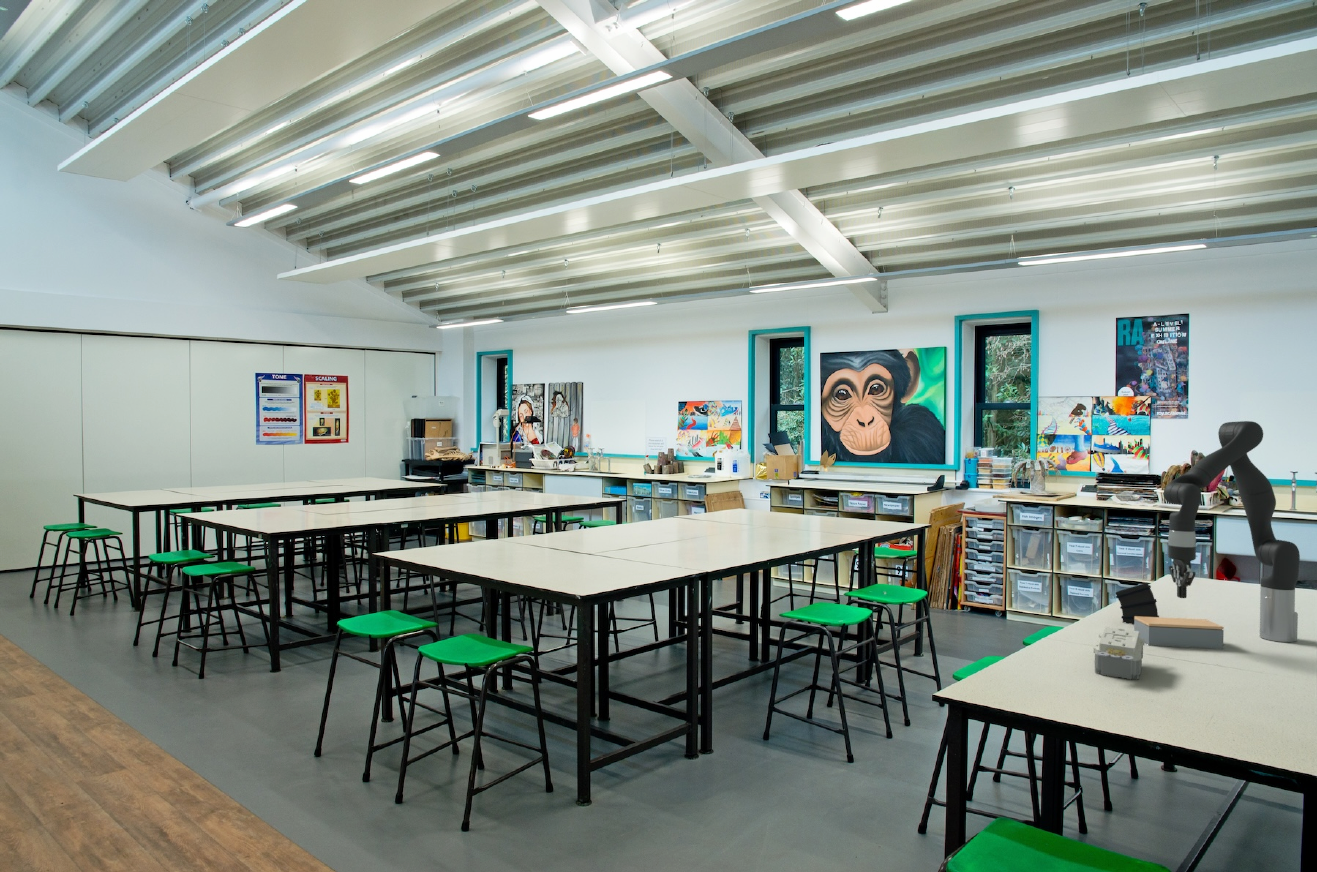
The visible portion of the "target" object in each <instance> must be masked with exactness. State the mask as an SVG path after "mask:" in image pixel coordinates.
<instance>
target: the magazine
mask: <svg viewBox="0 0 1317 872" xmlns="http://www.w3.org/2000/svg"><path fill="white" fill-rule="evenodd" d="M1151 587H1152V585H1150V584H1149V583H1148V582H1144V583H1142V584H1138V585H1135V586H1131V587H1128V588H1125V589H1122V590H1117V591H1115V595H1116V596H1115V599H1118V601H1119V603H1120V606H1119V608H1120V610H1121V611H1122V613H1121V614H1122V615H1121V619H1122V623H1123V622H1126V623H1125V624H1129V623H1132V624H1131V625H1134V616H1140V617H1160V615H1158V613H1159V612H1158V607H1157V602H1158V601H1157V598H1155V596H1154V594H1153V593H1154V592H1153V591H1152V589H1151Z"/></svg>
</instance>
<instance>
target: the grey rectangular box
mask: <svg viewBox="0 0 1317 872" xmlns="http://www.w3.org/2000/svg"><path fill="white" fill-rule="evenodd" d="M1133 626H1134V629H1133V630H1134V631H1139V632H1140V634H1139V638H1141V639H1143V640H1144V641H1145V643H1144V644H1146V645H1147V644H1148V646H1153V645H1154V647H1155V646H1156V647H1160V646H1161V647H1175V648H1176V647H1177V648H1178V647H1179V648H1194V649H1195V648H1198V649H1199V648H1200V649H1215V650H1216V649H1217V650H1219V649H1221V650H1224V636H1225V635H1224V631H1225V630H1224V629H1204V628H1182V627H1159V626H1148V625H1146V624H1144V623H1142V622H1140V621H1138V620H1136V619H1134V624H1133Z"/></svg>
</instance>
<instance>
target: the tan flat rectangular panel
mask: <svg viewBox="0 0 1317 872" xmlns="http://www.w3.org/2000/svg"><path fill="white" fill-rule="evenodd" d="M1134 619H1136V620H1138V621H1140V622H1142V623H1144V624H1146V625H1148V626H1159V627H1182V628H1204V629H1222V630H1224V629H1225V626H1223V625H1220V624H1218V623H1215V622H1213V621H1211V620H1208V619H1203V618H1187V617H1185V618H1181V617H1161V616H1159V617H1140V616H1134Z"/></svg>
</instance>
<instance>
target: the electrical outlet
mask: <svg viewBox="0 0 1317 872" xmlns="http://www.w3.org/2000/svg"><path fill="white" fill-rule="evenodd" d="M1139 634H1140V632H1139V631H1134V629H1127V628H1124V629H1123V628H1117V627H1110V626H1109V627H1108V626H1105V627H1104V629H1103V632H1101V633H1100V634H1098V640H1097V642H1096V645H1095V647H1093V654H1094V673H1095V674H1098V675H1099V674H1100V675H1101V674H1102V675H1101V676H1106V675H1107V677H1114V678H1118V677H1122V678H1121V679H1124V678H1127V679H1126V680H1131V679H1132V678H1134V679H1132V680H1137V679H1139V680H1140V675H1141V673H1142V668H1143V667H1142V666H1143V663H1142V662H1143V657H1144V646H1145V644H1146V643H1145V641H1144V640H1143V639H1141V638H1139Z"/></svg>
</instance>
